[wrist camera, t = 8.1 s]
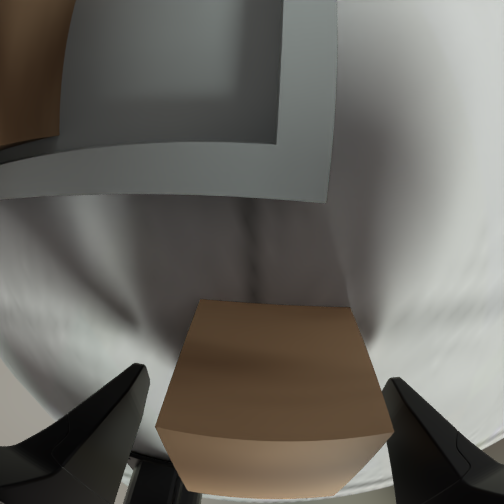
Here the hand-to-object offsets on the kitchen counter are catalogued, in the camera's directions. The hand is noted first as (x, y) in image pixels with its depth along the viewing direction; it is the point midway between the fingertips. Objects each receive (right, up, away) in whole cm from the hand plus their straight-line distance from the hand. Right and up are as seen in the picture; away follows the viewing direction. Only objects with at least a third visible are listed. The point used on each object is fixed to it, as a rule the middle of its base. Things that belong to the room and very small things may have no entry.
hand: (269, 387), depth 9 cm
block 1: (-9, +11, -3) cm, 14 cm away
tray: (-6, +14, -4) cm, 16 cm away
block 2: (0, +1, +1) cm, 2 cm away
